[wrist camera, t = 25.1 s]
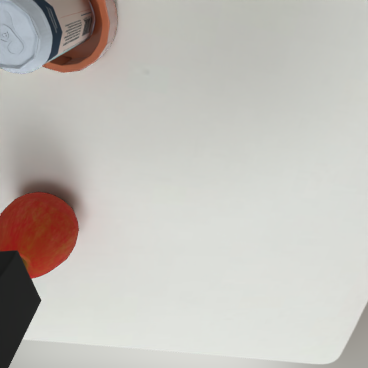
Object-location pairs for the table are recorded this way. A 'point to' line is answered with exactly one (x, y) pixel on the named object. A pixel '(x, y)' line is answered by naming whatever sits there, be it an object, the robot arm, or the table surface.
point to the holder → (90, 40)
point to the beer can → (41, 31)
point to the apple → (39, 231)
